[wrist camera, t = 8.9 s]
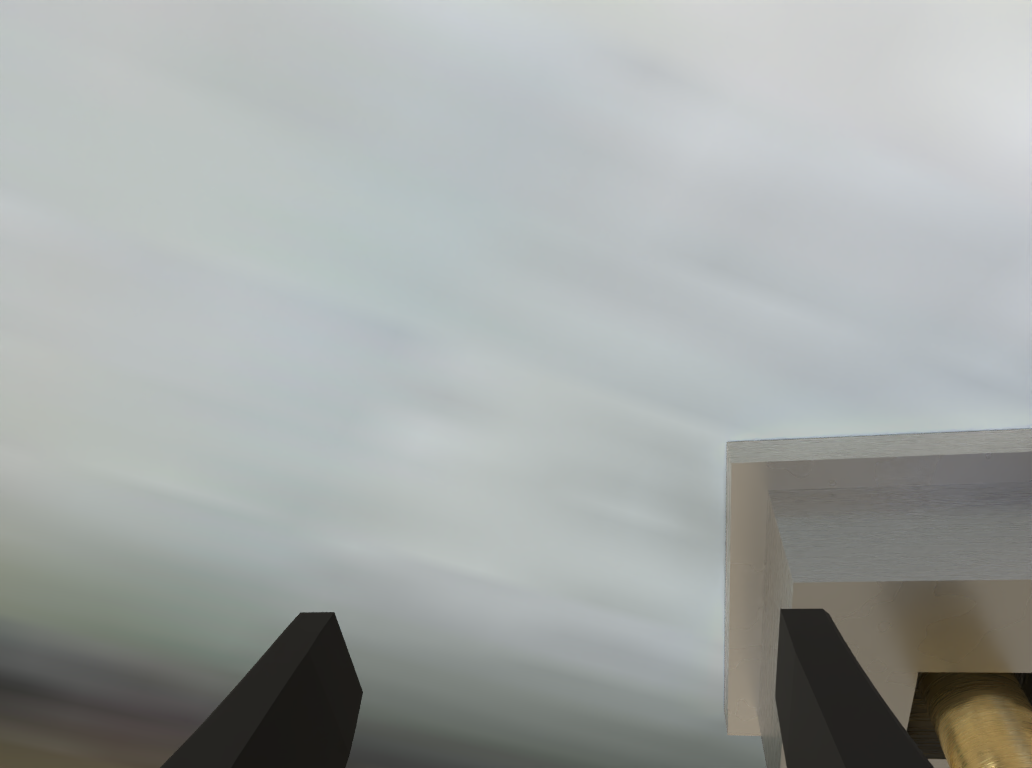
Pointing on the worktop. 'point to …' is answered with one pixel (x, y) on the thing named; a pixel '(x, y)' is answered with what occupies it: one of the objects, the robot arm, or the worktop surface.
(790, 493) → the chuck block
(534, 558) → the worktop surface
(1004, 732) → the brass cylinder rod
